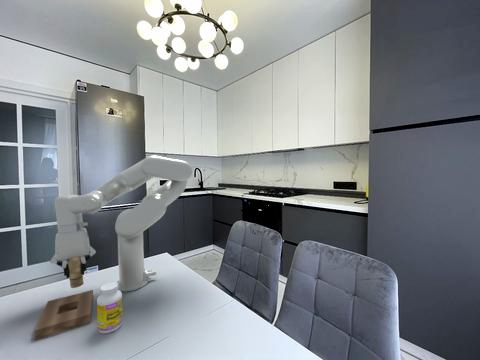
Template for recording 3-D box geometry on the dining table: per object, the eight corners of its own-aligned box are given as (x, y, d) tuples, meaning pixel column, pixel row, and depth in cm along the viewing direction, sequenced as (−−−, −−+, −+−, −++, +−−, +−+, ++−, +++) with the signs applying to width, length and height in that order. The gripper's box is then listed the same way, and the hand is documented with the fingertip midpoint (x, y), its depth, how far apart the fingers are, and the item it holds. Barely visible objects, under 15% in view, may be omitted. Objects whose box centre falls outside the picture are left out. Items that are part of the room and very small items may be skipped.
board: (93, 297, 82) (93, 289, 82) (90, 323, 68) (90, 314, 68) (48, 309, 75) (47, 301, 75) (35, 340, 61) (34, 330, 61)
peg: (84, 280, 86) (81, 251, 85) (83, 285, 82) (79, 255, 81) (71, 284, 84) (67, 254, 83) (69, 289, 80) (65, 258, 79)
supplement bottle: (105, 338, 62) (102, 294, 61) (93, 329, 66) (91, 288, 65) (127, 323, 68) (125, 283, 67) (116, 316, 71) (114, 278, 71)
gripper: (97, 221, 89) (102, 264, 90) (44, 229, 80) (49, 277, 82) (96, 225, 82) (101, 272, 84) (38, 235, 74) (44, 286, 75)
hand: (75, 274), depth 83 cm, fingers closed on peg, 4 cm apart
